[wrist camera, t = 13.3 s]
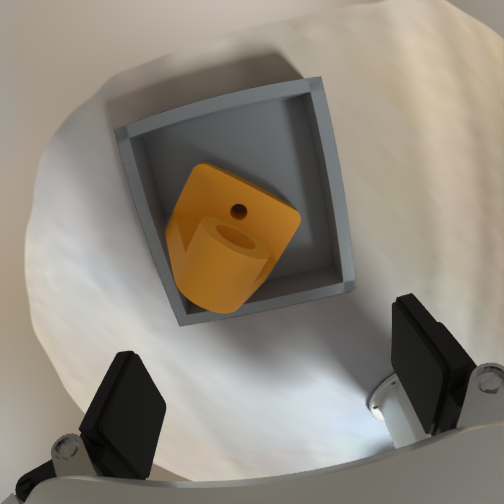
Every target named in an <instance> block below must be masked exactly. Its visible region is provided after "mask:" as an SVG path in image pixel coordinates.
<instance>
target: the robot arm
mask: <svg viewBox="0 0 504 504" xmlns="http://www.w3.org/2000/svg"><path fill="white" fill-rule="evenodd" d="M391 362H392V366H393V369H394V371H395V374H393V375H391V376H390V377H389V378H387V379H386V380H385V381H384V382H383V383H382V384H380V385H379V387H378V388H377V389H376V390H375V391H374V393H373V395H372V396H371V399H370V403H369V408H370V411H371V414H372V415H373V417H374V418H376V419H378V420H381V421H385V423H386V426H387V428H388V431H389V433H390V436H391V439H392V441H393V444H394V447H395V449H394V450H390V451H387V452H384V453H380V454H377V455H374V456H370V457H366V458H363V459H359V460H355V461H351V462H347V463H343V464H339V465H335V466H330V467H325V468H320V469H315V470H310V471H304V472H299V473H292V474H286V475H279V476H271V477H263V478H253V479H242V480H228V481H203V482H172V481H171V482H170V481H149V480H145V479H146V478H148V477H149V475H150V471H151V466H152V463H153V459H154V455H155V451H156V447H157V443H158V439H159V435H160V431H161V427H162V424H163V420H164V416H165V412H166V403H165V401H164V399H163V397H162V396H161V394H160V392H159V390H158V389H157V387H156V385H155V384H154V382H153V380H152V378H151V377H150V375H149V373H148V371H147V369H146V368H145V366H144V364H143V362H142V360H141V358H140V357H139V355H138V354H135V353H134V352H133V351H123V352H118V353H117V354H116V356H115V358H114V360H113V362H112V363H111V365H110V367H109V369H108V371H107V373H106V375H105V377H104V379H103V381H102V383H101V384H100V386H99V388H98V390H97V392H96V394H95V396H94V398H93V400H92V402H91V404H90V406H89V408H88V410H87V412H86V414H85V417H84V419H83V421H82V423H81V425H80V427H79V430H80V431H81V435H80V436H78V435H77V434H73V433H72V434H66V435H63V436H62V437H60V438H59V439H58V440H57V441H56V442H55V443H54V445H53V446H52V449H51V456H52V459H51V460H50V461H48V462H46V463H44V464H42V465H41V466H39V467H37V468H35V469H34V470H32V471H30V472H28V473H26V474H25V475H23V476H22V477H21V478H20V479H19V480H18V482H17V484H16V489H15V490H16V495H15V494H13V493H12V494H11V495H10V496H9V497H8V498H6V499H5V500H4V501H3V502H2V503H1V504H504V366H502V365H500V364H497V363H485V364H481V365H479V366H478V367H477V365H476V364H475V363H474V362H473V360H472V359H471V358H470V356H469V355H468V354H467V353H466V351H465V350H464V349H463V348H462V346H461V345H460V344H459V343H458V341H457V340H456V339H455V338H454V337H453V335H452V334H451V333H450V332H449V331H448V329H447V328H446V327H445V326H444V325H443V324H442V323H441V322H437V321H436V320H435V319H434V318H433V317H432V315H431V314H430V313H429V312H428V311H427V310H426V308H425V307H424V306H423V305H422V304H421V303H420V301H419V300H418V299H417V298H416V297H415V296H414V295H413V294H412V293H410V294H407V295H403V296H400V297H397V298H396V302H394V303H392V351H391Z"/></svg>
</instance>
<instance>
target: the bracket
mask: <svg viewBox="0 0 504 504" xmlns="http://www.w3.org/2000/svg"><path fill="white" fill-rule="evenodd" d="M235 204H242V205H244V206H245V207H246V208H247V209H246V211H245V212H243V213H237V212H235V211H234V210H233V209H232V206H234V205H235ZM300 222H301V217H300V214H299V213H298V211H297V209H296V208H295V207H294V206H293V205H291V204H289V203H287V202H285V201H283V200H282V199H280V198H278V196H276V195H275V194H273V193H271V192H269V191H267V190H265V189H263V188H261V187H259V186H257V185H256V184H254V183H252V182H250V181H248V180H246V179H244V178H242V177H240V176H238V175H236V174H234V173H232V172H230V171H228V170H223V169H221V168H219V167H217V166H215V165H213V164H211V163H209V162H202V163H200V164H198V165H197V166H195V167H194V168H193V170H192V172H191V174H190V176H189V178H188V180H187V182H186V184H185V186H184V189H183V191H182V193H181V195H180V197H179V199H178V201H177V204H176V206H175V208H174V210H173V212H172V215H171V217H170V219H169V221H168V224H167V226H166V228H165V236H166V241H167V246H168V251H169V256H170V261H171V266H172V271H173V275H174V280H175V283H176V285H177V287H178V289H179V290H180V291H181V293H182V294H183V295H184V296H185V297H187V298H188V299H189V300H190V301H192V302H193V303H195V304H196V305H198V306H200V307H202V308H204V309H207V310H209V311H213V312H217V313H232V312H235V311H236V310H238V308H239V307H240V306H241V305H242V304H243V303H244V302H245V301H246V300H247V299H248V298H249V297H250V296H251V295H252V294H253V293H254V292H255V291H256V290H257V289H258V288H259V287H260V286H261V285H262V284H263V283H264V282H265V281H266V279H267V278H268V276H269V274H270V273H271V271H272V270H273V268H274V266H275V265H276V263H277V261H278V260H279V258H280V256H281V255H282V253H283V251H284V250H285V248H286V246H287V245H288V243H289V241H290V240H291V238H292V236H293V235H294V233H295V231H296V230H297V228H298V226H299V225H300Z"/></svg>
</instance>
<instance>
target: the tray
mask: <svg viewBox="0 0 504 504" xmlns="http://www.w3.org/2000/svg"><path fill="white" fill-rule="evenodd" d="M114 132H115V136H116V140H117V144H118V148H119V151H120V155H121V159H122V162H123V166H124V170H125V173H126V176H127V180H128V183H129V187H130V190H131V193H132V197H133V200H134V203H135V206H136V209H137V212H138V216H139V219H140V222H141V225H142V228H143V231H144V234H145V237H146V240H147V242H148V245H149V248H150V251H151V254H152V257H153V259H154V262H155V265H156V268H157V270H158V273H159V276H160V278H161V281H162V284H163V286H164V289H165V292H166V294H167V297H168V299H169V302H170V304H171V307H172V309H173V312H174V314H175V317H176V319H177V322H178V324H179V326H186V325H192V324H198V323H204V322H209V321H215V320H220V319H226V318H231V317H236V316H241V315H247V314H252V313H257V312H262V311H266V310H271V309H276V308H281V307H285V306H290V305H295V304H299V303H304V302H308V301H312V300H317V299H321V298H325V297H330V296H334V295H338V294H342V293H346V292H350V291H354V290H356V283H355V272H354V262H353V253H352V244H351V236H350V228H349V220H348V213H347V206H346V199H345V193H344V186H343V180H342V174H341V168H340V163H339V157H338V152H337V147H336V141H335V136H334V131H333V126H332V122H331V117H330V112H329V108H328V104H327V99H326V95H325V91H324V87H323V82H322V78H321V76H320V77H312V78H305V79H299V80H293V81H287V82H281V83H275V84H270V85H265V86H260V87H255V88H250V89H246V90H241V91H237V92H233V93H229V94H225V95H221V96H217V97H213V98H209V99H205V100H202V101H198V102H194V103H191V104H188V105H184V106H181V107H178V108H174V109H171V110H168V111H165V112H162V113H159V114H156V115H153V116H150V117H147V118H144V119H141V120H139V121H136V122H133V123H130V124H128V125H125V126H122V127H120V128H117V129H115V130H114ZM202 162H209V163H211V164H213V165H215V166H217V167H219V168H221V169H223V170H228V171H230V172H232V173H234V174H236V175H238V176H240V177H242V178H244V179H246V180H248V181H250V182H252V183H254V184H256V185H257V186H259V187H261V188H263V189H265V190H267V191H269V192H271V193H273V194H275V195H276V196H278V198H280V199H282V200H283V201H285V202H287V203H289V204H291V205H293V206H294V207H295V208H296V209H297V211H298V213H299V214H300V217H301V222H300V225H299V226H298V228H297V230H296V231H295V233H294V235H293V236H292V238H291V240H290V241H289V243H288V245H287V246H286V248H285V250H284V251H283V253H282V255H281V256H280V258H279V260H278V261H277V263H276V265H275V266H274V268H273V270H272V271H271V273H270V274H269V276H268V278H267V279H266V281H265V282H264V283H263V284H262V285H261V286H260V287H259V288H258V289H257V290H256V291H255V292H254V293H253V294H252V295H251V296H250V297H249V298H248V299H247V300H246V301H245V302H244V303H243V304H242V305H241V306H240V307H239V308H238V310H236V311H235V312H232V313H217V312H213V311H209V310H207V309H204V308H202V307H200V306H198V305H196V304H195V303H193V302H192V301H190V300H189V299H188V298H187V297H185V296H184V295H183V294H182V293H181V291H180V290H179V289H178V287H177V285H176V283H175V280H174V275H173V271H172V266H171V261H170V256H169V251H168V246H167V241H166V236H165V228H166V226H167V224H168V221H169V219H170V217H171V215H172V212H173V210H174V208H175V206H176V204H177V201H178V199H179V197H180V195H181V193H182V191H183V189H184V186H185V184H186V182H187V180H188V178H189V176H190V174H191V172H192V170H193V168H194V167H195V166H197V165H198V164H200V163H202ZM232 209H233V210H234V211H235V212H237V213H243V212H245V211H246V209H247V208H246V207H245V206H244V205H242V204H235V205H234V206H232Z"/></svg>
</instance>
